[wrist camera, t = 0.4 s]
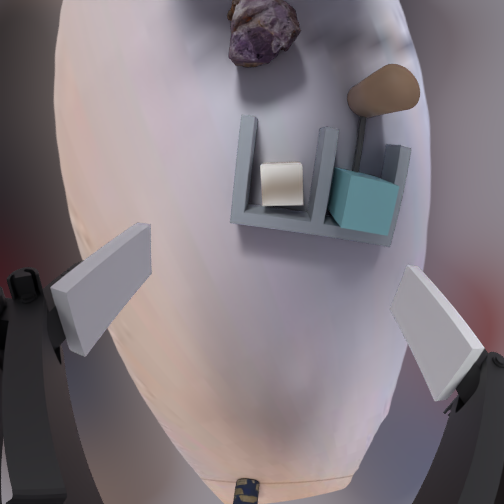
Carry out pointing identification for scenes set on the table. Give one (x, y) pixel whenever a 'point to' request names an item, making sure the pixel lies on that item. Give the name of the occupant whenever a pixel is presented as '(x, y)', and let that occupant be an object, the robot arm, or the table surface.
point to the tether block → (353, 182)
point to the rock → (260, 30)
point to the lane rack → (321, 182)
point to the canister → (246, 492)
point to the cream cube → (281, 183)
